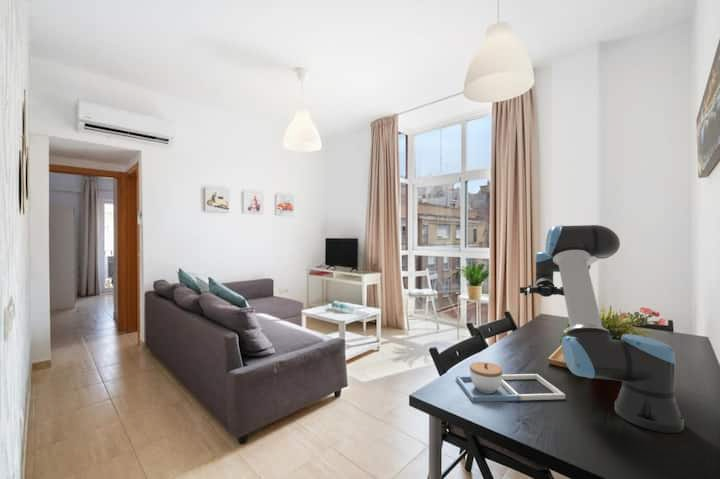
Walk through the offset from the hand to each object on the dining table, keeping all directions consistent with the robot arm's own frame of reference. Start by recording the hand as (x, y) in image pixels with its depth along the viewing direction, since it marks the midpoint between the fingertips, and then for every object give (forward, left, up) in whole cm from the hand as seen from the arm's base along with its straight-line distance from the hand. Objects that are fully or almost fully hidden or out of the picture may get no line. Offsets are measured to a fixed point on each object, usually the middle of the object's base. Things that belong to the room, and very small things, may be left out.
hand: (547, 294), depth 129 cm
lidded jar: (-15, +32, -30) cm, 46 cm away
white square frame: (-15, +17, -30) cm, 38 cm away
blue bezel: (-15, +32, -30) cm, 46 cm away
